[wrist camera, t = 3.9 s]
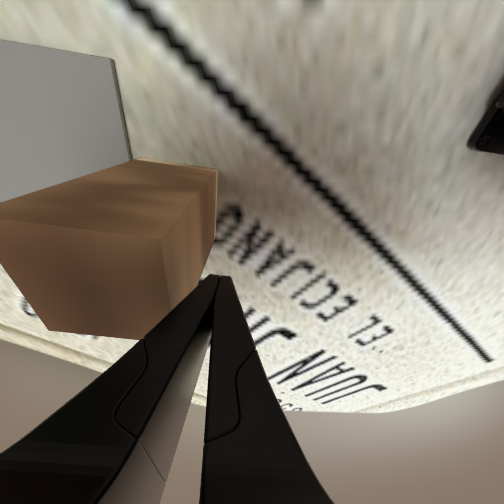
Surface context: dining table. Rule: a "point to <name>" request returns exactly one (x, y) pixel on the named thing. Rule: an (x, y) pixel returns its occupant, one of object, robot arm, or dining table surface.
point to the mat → (56, 117)
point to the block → (111, 245)
